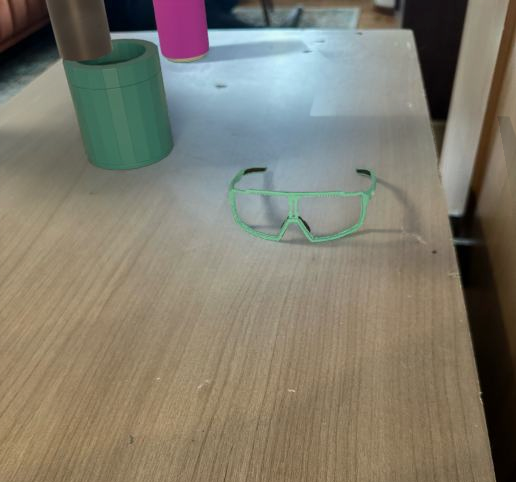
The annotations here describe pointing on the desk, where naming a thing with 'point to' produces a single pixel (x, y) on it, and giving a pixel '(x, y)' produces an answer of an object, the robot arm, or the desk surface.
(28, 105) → the desk surface
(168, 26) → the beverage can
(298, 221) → the sunglasses
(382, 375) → the desk surface
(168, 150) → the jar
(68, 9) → the brown wooden rod
